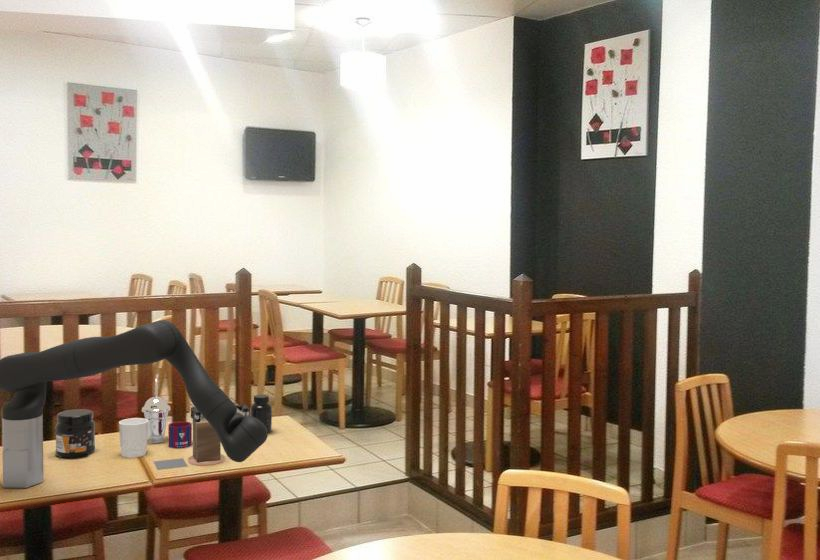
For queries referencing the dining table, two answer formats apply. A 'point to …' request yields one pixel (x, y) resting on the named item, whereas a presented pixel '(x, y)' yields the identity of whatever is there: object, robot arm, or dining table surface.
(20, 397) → the robot arm
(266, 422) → the supplement bottle
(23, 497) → the dining table surface
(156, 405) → the cup with straw
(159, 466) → the coaster
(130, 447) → the white cup
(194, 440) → the tall wooden block
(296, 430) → the dining table surface
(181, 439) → the mug
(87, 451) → the supplement container
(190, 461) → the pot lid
